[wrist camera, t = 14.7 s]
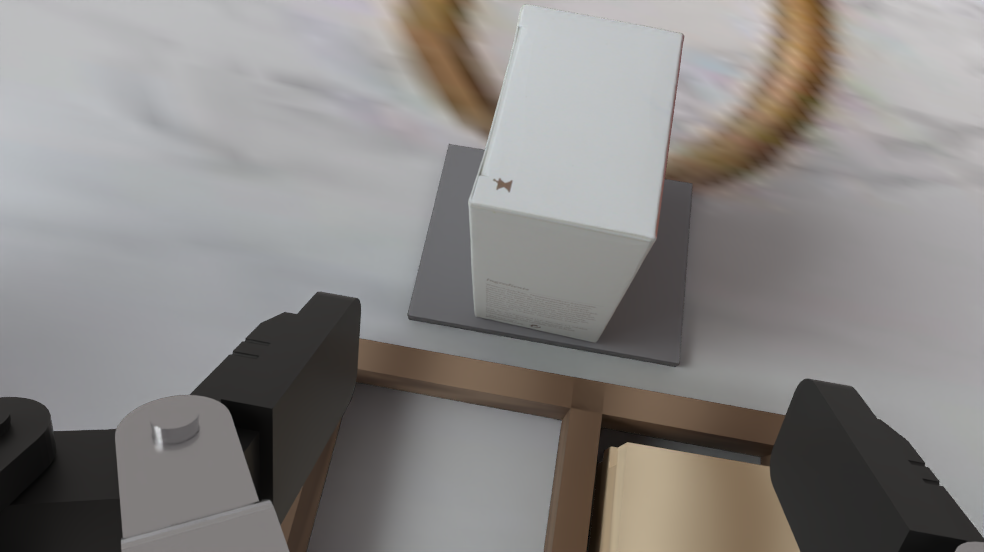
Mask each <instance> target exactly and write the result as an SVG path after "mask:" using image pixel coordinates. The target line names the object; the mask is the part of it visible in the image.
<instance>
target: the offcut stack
mask: <svg viewBox="0 0 984 552" xmlns="http://www.w3.org/2000/svg"><path fill="white" fill-rule="evenodd" d="M588 552H800V549H799V547H798V545H797V542H796V540H795V537H794V535H793V533H792V530H791V528H790V526H789V523H788V521H787V519H786V516H785V514H784V511H783V509H782V507H781V504H780V502H779V500H778V497H777V495H776V492H775V490H774V488H773V485H772V482H771V477H770V467H769V466H763V465H757V464H752V463H746V462H740V461H734V460H728V459H722V458H716V457H711V456H705V455H699V454H693V453H687V452H681V451H676V450H670V449H664V448H658V447H652V446H646V445H641V444H635V443H629V442H627V443H625V444H623V445H622V446H620V447H618V448H617V447H609V448H607V449H606V450H604V454H603V461H602V462H600V463H598V464H597V470H596V480H595V490H594V500H593V510H592V519H591V529H590V539H589V549H588Z"/></svg>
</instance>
